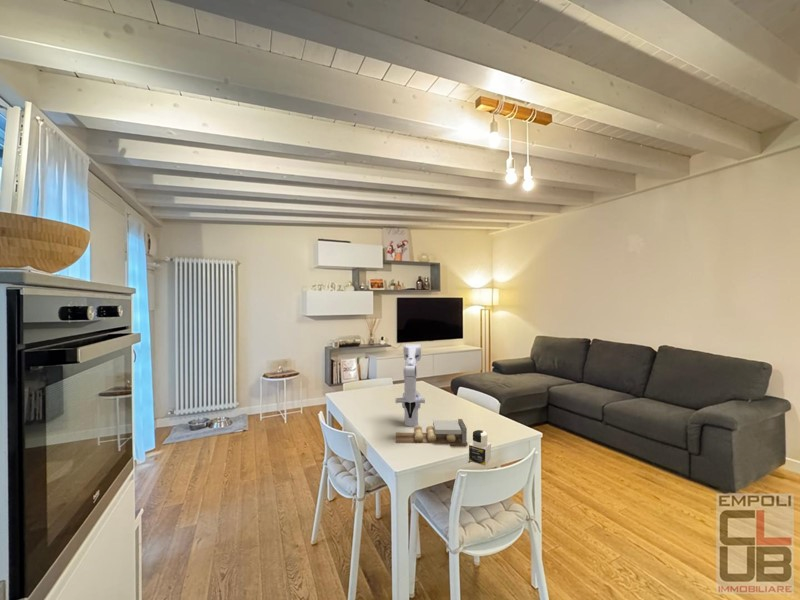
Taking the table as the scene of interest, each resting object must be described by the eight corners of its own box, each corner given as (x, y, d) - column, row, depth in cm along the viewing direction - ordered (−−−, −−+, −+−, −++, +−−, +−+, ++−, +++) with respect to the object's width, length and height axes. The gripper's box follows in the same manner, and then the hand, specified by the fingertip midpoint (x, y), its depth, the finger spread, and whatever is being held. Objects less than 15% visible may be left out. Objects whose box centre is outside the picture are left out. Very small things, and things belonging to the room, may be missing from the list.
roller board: (395, 434, 168) (396, 418, 168) (462, 435, 168) (463, 419, 168) (395, 445, 156) (395, 427, 156) (467, 445, 156) (467, 428, 156)
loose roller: (442, 432, 167) (445, 424, 167) (450, 434, 167) (453, 427, 167) (445, 441, 157) (448, 432, 157) (453, 443, 157) (456, 435, 157)
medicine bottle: (468, 461, 141) (468, 432, 141) (475, 454, 147) (475, 427, 147) (485, 466, 137) (485, 436, 137) (491, 459, 143) (491, 431, 143)
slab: (433, 424, 168) (433, 420, 168) (457, 424, 168) (457, 420, 168) (435, 433, 156) (435, 429, 156) (461, 434, 156) (461, 429, 156)
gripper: (395, 392, 162) (395, 420, 162) (425, 392, 162) (425, 420, 162) (395, 388, 169) (395, 415, 169) (424, 388, 169) (424, 415, 169)
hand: (410, 417), depth 166 cm, fingers closed
